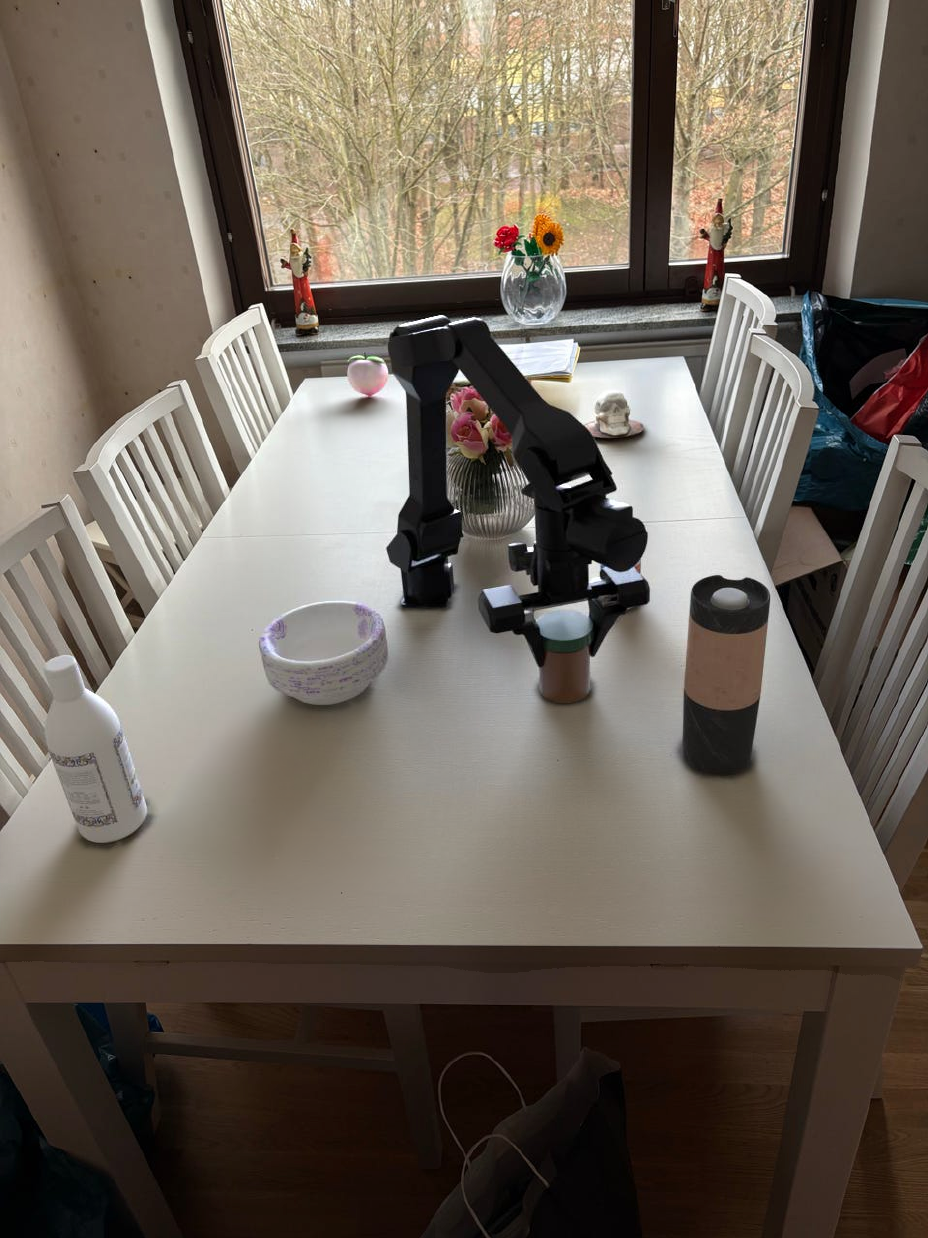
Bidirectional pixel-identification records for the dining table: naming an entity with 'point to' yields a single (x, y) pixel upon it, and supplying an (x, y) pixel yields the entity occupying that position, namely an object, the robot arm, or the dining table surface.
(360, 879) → the dining table surface
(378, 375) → the decorative fruit
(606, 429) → the skull
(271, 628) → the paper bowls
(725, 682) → the travel mug
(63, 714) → the bath foam
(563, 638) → the jar lid
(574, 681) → the honey jar
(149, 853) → the dining table surface
